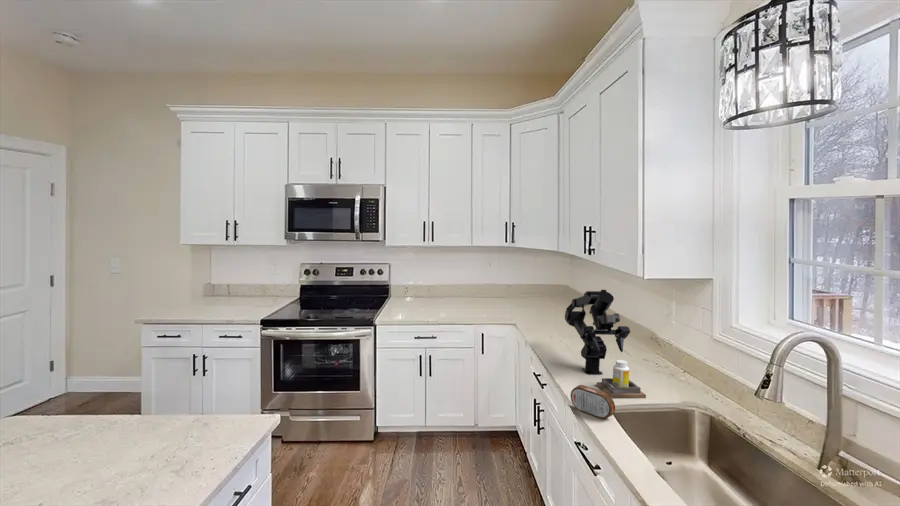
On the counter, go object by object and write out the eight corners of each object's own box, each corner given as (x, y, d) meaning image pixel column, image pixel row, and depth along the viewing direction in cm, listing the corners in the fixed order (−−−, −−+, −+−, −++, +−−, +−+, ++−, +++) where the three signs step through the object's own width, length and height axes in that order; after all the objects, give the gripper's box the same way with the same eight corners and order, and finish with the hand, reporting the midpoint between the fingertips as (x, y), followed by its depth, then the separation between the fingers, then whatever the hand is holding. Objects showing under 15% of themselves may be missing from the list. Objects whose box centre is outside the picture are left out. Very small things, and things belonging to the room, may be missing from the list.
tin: (615, 420, 141) (616, 394, 140) (610, 423, 139) (611, 397, 138) (573, 405, 152) (574, 381, 151) (568, 407, 150) (569, 383, 149)
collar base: (596, 385, 172) (596, 377, 172) (628, 385, 173) (629, 377, 173) (610, 398, 159) (611, 389, 159) (645, 398, 160) (646, 389, 160)
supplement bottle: (628, 386, 168) (629, 360, 167) (628, 391, 163) (629, 364, 162) (612, 384, 170) (613, 358, 169) (612, 389, 165) (613, 362, 164)
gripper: (583, 305, 174) (593, 340, 164) (629, 306, 176) (642, 341, 165) (575, 321, 182) (584, 355, 172) (619, 321, 184) (630, 355, 174)
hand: (610, 351), depth 171 cm, fingers open, 9 cm apart
